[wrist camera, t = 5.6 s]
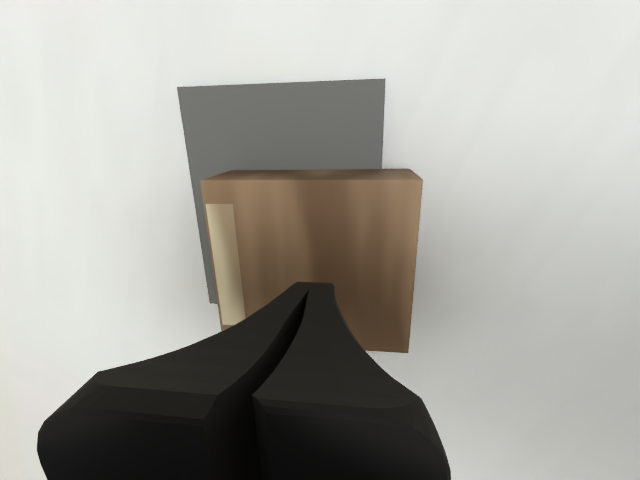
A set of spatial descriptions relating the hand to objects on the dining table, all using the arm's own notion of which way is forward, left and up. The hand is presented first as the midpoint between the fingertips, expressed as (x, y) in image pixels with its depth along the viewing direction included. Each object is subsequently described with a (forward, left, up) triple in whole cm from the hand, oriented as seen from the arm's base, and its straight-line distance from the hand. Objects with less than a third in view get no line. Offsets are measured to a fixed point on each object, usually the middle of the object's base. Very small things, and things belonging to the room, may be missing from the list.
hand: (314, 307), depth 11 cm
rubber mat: (+2, -2, -7) cm, 8 cm away
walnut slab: (-4, 0, -5) cm, 6 cm away
